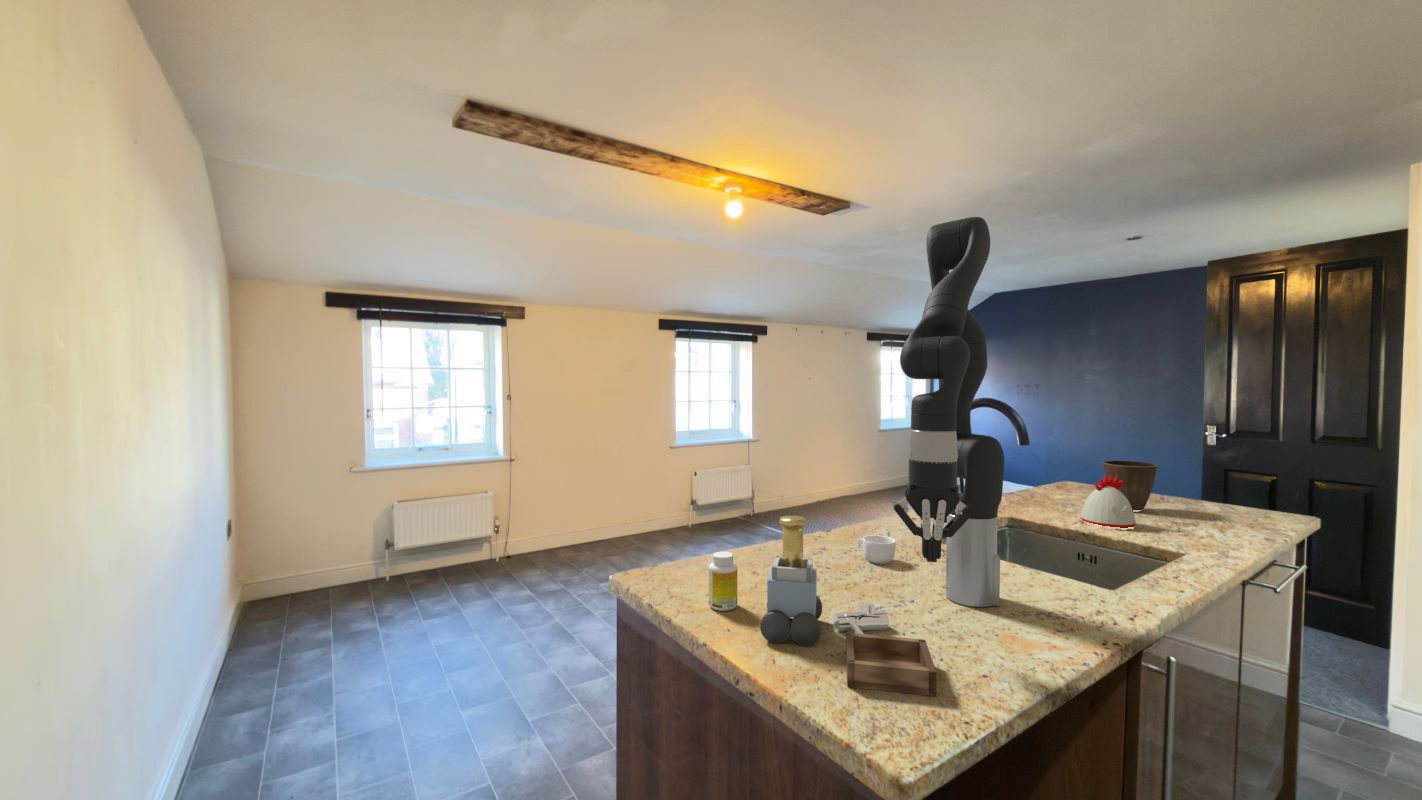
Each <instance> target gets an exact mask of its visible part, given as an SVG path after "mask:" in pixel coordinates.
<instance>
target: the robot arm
mask: <svg viewBox="0 0 1422 800" xmlns="http://www.w3.org/2000/svg"><path fill="white" fill-rule="evenodd" d="M986 221H987V220H985V219H984V218H983V217H980V216H971V217H966V218H960V219H955V220H951V221H946V222H942V223H938V224H934V225H932V226H930V228H929V229H928V231H927V233H926V245H925V246H926V257H927V264H928V270H929V278H930V286H931V292H930V293H929V294H928V296H927V299H926V302H925V306H924V309H923V312H922V316H921V320H920V321H919V322H918V324H916V326H915V328H914V329H913V330H912V332H911V333H910V334H909V336H908V337H907V339H906V341H904V343H903V345H902V347H901V348H902V349H901V351H900V357H899V363H900V368H901V370H902V372H903V374H904V375H905V376H906V377H908V378H909V379H913V380H938V389H937V390H936V391H932V392H927V393H921V394H917V395H915V396H914V397H913V398H912V399H911V403H910V404H911V407H910V413H911V414H910V435H909V441H908V481H907V482H908V486H907V489H906V491H905V493H904V497H902V498H901V499H900V500H898V501H895V502H893V503H892V507H893V508H892V509H893V510H894V511H895V513H896V514H897V515H898V517H899V519H901V521H902V522H903V523H904V525H905V526H906V528H908V529H909V530H910V532H911V534H912V535H913V536H918V537H920V538H921V554H922V557H923V558H924V559H925V560H926V562H928V563H937V562H938V561H937V560H941V557H942V541H943V539H945V538H946V547H945V548H946V553H945V554H946V556H945V559H946V561H945V563H946V565H945V567H946V568H945V597H946V598H947V599H948V600H950V601H952V602H954V603H956V604H959V605H962V606H966V607H973V608H988V607H992V606H996V607H997V606H999V607H1000V598H1001V597H1000V593H1001V592H1000V589H1001V587H1000V585H1001V583H1000V582H1001V580H1000V579H1001V557H1000V555H998V510H999V507H1000V505H1001V501H1002V497H1003V485H1004V475H1005V454H1004V449H1003V447H1002V445H1001V443H1000V441H999V440H998V439H997V438H995V437H993V436H990V435H984V434H977V433H972V427H971V426H972V425H971V421H972V420H971V411H972V404H973V402H974V399H975V396H976V394H978V393H977V392H978V390H980V389H979V388H980V387H981V384H982V382H983V380H984V378H985V375H986V373H987V369H988V351H987V349H988V348H987V335H986V333H985V330H984V328H983V326H982V325H981V323H980V321H978V319H977V318H976V317H975V316H974V314H973V313H972V312H971V311H970V310H969V305H970V300H971V297H972V295H973V293H974V289H976V286H977V284H978V282H979V279H980V277H981V275H982V273H983V270H984V268H985V265H986V263H987V261H988V258H989V255H990V250H991V236H990V235H991V234H990V228H989V226H988V223H987V222H986ZM950 270H951V271H950ZM958 478H959V479H963V480H964V488H963V491H962V493H960V494H959V493H958ZM908 505H910V507H911V508H912V509H913V511H914V513H915V514H916V515H917V516H918V517H919V521H920V526H918V525H917V524H916V523H915V522H914V520H913V519H912V517H910V515H909V514H908V512H909V507H908ZM931 519H932V522H931ZM945 519H946V524H945ZM931 523H932V525H931ZM944 525H945V526H944ZM931 526H932V528H931Z"/></svg>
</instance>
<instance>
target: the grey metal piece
mask: <svg viewBox="0 0 1422 800" xmlns="http://www.w3.org/2000/svg"><path fill="white" fill-rule="evenodd" d="M857 609H858V611H848V612H847V611H846V612H835V613H834V614H833V619H832V620H833V628H835V630H836V631H837V632H839V633H841V632H843V633H844V631H845V632H846V633H855V634H865V633H864V632H865V631H884V630H887V631H888V629H889V626H890V625H889V624H890V621H889V620H890V619H889V616H888V614H887V612H886V611H885V610H876V605H875V604H874V603H868V604H861V605H858V607H857Z"/></svg>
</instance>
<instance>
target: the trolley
mask: <svg viewBox="0 0 1422 800" xmlns="http://www.w3.org/2000/svg"><path fill="white" fill-rule="evenodd" d="M813 560H814V559H813V558H812V557H803V568H793V567H782V561H783V555H781V556H780V555H776V556H775V557H774V561H773V563H772V566H771V569H770V571H769V574H768V577H767V585H766V586H767V588H766V589H767V590H766V591H767V596H766V597H767V599H766V600H767V601H766V608H767V610H766V613H765V614H764V615H763V617H762V618H761V622H760V626H759V628H760V633H761V635H762V637H763V638H764V639H765V640H766V641H768V642H769V643H771V644H782V643H783V642H785V641H787V639H789V637H790V635H791V638H792V639H793V641H794V642H795V644H798V645H800V646H803V647H811V646H812V647H813V646H814V645H815V644H817V643H818V642H819V640H820V638H821V634H822V624H821V622H820V620H819V618H821V615H822V613H823V602H822V599H821V598H820V597H819V596H818V593H817V584H818V583H817V578H818V577H817V576H818V575H817V574H818V573H817V572H818V570H817V568H814V567H813V565H814V564H813V562H814V561H813ZM790 618H792V619H790Z"/></svg>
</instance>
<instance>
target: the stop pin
mask: <svg viewBox="0 0 1422 800" xmlns="http://www.w3.org/2000/svg"><path fill="white" fill-rule="evenodd" d="M779 524H780V525H782V556H783V561H782V567H793V568H803V558H804V526H806V525H807V518H806V517H804V516H800V515H783V516H781V517H779Z"/></svg>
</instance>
